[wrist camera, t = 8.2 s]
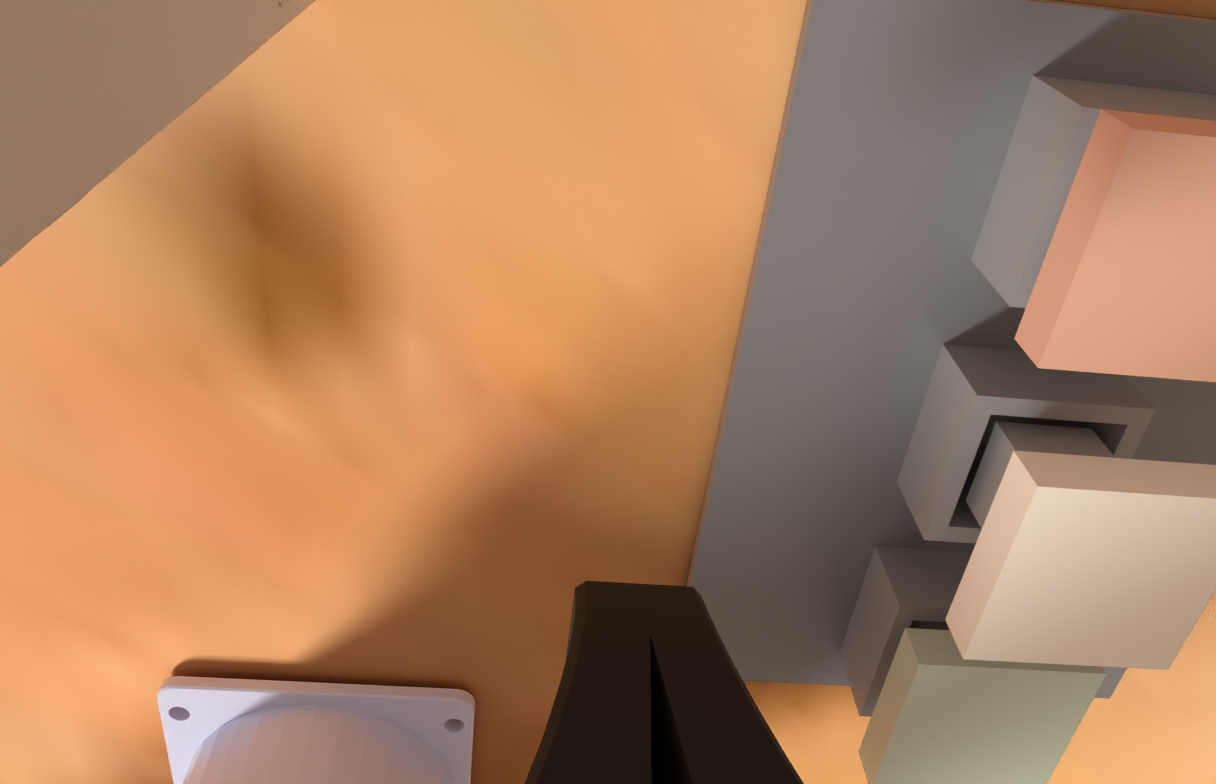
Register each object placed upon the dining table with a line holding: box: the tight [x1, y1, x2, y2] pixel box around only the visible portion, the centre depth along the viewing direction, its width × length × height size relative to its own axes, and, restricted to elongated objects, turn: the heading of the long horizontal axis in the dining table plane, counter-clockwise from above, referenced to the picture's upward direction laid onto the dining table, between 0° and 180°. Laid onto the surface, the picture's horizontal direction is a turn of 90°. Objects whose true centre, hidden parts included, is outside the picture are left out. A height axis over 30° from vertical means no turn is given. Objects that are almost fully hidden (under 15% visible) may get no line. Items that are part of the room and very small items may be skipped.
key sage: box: [859, 620, 1107, 784], centre depth 22 cm, size 4×4×4 cm
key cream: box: [945, 422, 1216, 670], centre depth 19 cm, size 4×4×4 cm
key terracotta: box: [1014, 109, 1216, 382], centre depth 17 cm, size 4×4×4 cm
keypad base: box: [686, 0, 1216, 717], centre depth 21 cm, size 17×12×2 cm
